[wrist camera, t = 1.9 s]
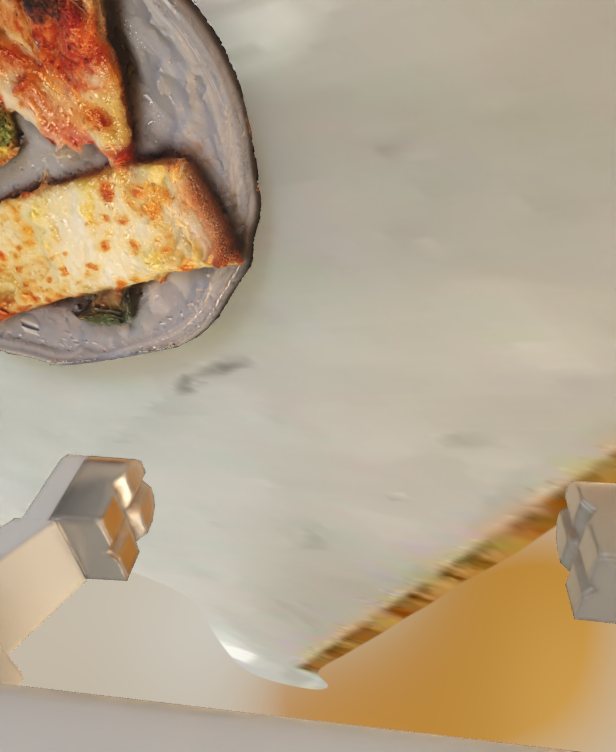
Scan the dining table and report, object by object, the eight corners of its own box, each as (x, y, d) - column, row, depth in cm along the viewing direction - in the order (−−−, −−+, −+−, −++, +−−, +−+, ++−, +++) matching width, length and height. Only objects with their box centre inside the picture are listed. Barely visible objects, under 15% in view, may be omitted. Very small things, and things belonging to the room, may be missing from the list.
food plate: (163, -229, 21) (126, -248, 18) (314, 311, 34) (306, 346, 32) (-311, -32, 27) (-390, -24, 24) (-23, 356, 41) (-53, 388, 38)
